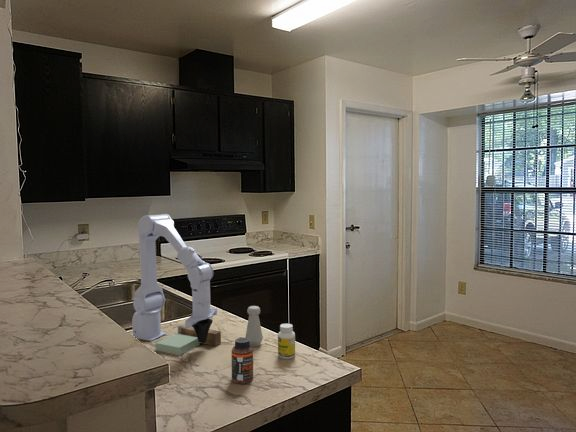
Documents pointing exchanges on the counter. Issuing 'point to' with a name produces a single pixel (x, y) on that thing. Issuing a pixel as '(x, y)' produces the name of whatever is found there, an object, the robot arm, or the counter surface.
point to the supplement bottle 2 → (286, 341)
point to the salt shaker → (254, 327)
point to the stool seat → (177, 344)
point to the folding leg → (212, 336)
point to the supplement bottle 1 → (242, 361)
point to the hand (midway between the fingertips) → (202, 342)
